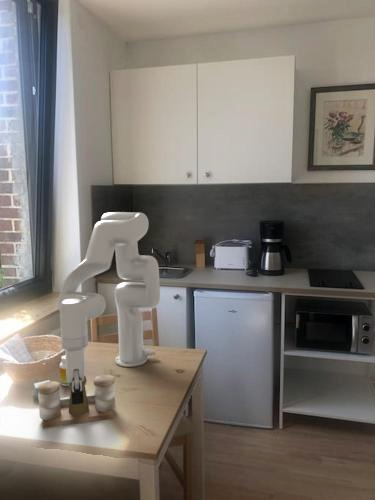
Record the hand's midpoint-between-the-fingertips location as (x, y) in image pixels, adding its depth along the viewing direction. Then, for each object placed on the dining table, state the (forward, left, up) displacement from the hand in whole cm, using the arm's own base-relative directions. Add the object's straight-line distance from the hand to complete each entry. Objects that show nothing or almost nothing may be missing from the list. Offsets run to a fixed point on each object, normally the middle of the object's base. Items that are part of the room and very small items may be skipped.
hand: (77, 395), depth 128 cm
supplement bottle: (+3, -24, -6) cm, 25 cm away
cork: (0, 0, -5) cm, 5 cm away
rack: (0, -1, -6) cm, 6 cm away
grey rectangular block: (+11, -17, -6) cm, 21 cm away
